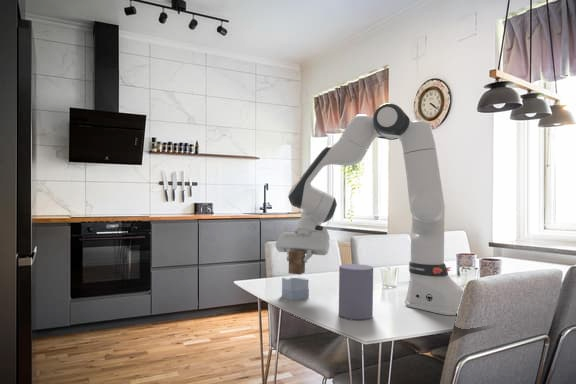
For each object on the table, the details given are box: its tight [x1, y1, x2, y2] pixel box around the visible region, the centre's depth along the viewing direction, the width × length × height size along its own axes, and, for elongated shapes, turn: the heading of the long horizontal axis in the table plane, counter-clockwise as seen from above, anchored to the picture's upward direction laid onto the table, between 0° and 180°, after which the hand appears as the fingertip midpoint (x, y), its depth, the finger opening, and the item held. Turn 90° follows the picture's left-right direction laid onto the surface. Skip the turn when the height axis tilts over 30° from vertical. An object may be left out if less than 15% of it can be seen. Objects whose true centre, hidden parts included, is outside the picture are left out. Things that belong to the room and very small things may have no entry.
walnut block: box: [288, 250, 306, 276], centre depth 154 cm, size 4×4×8 cm
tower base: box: [281, 287, 310, 301], centre depth 154 cm, size 7×7×4 cm
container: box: [338, 263, 374, 321], centre depth 131 cm, size 10×10×15 cm
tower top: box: [281, 275, 310, 291], centre depth 154 cm, size 7×7×4 cm
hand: (296, 261), depth 154 cm, fingers closed on walnut block, 4 cm apart
